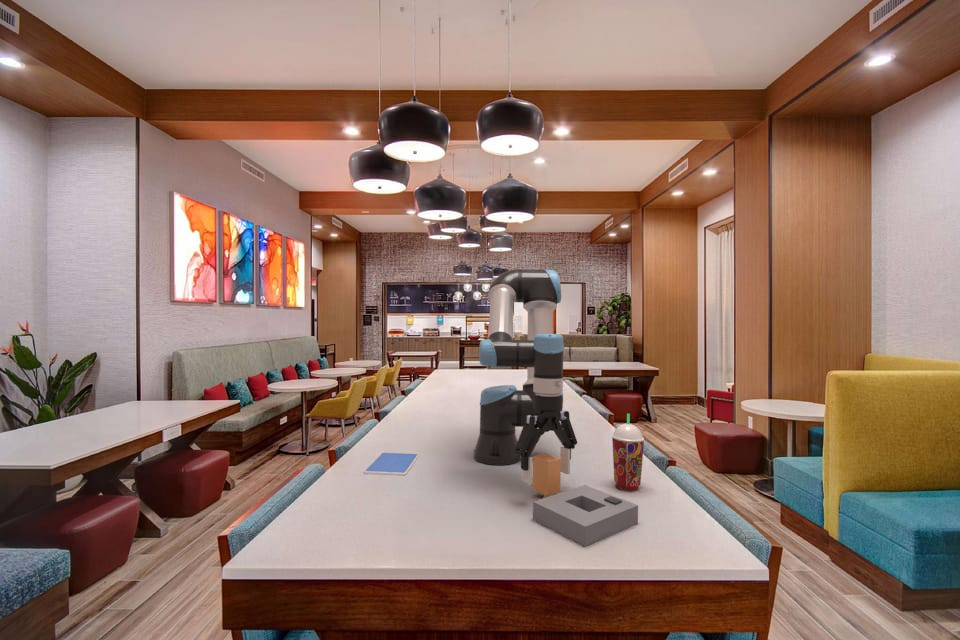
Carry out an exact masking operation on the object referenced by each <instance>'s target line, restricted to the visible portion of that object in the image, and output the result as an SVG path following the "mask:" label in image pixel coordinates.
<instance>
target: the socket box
mask: <svg viewBox="0 0 960 640" xmlns="http://www.w3.org/2000/svg"><path fill="white" fill-rule="evenodd" d="M532 520H533V521H535V522H537V523H539V524H541V525H542V526H545V527H547V528H548V529H550V530H553V531H554V532H556V533H559V534H560V535H562V536H564V537H566V538H568V539H569V540H571V541H573V542H576V543H577V544H579V545H581V546H583V547H584V548H585V547H588V546H590V545H592V544H595V543H596V542H599V541H602V540H603V539H605V538H607V537H610V536H612V535H615V534H617V533H619V532H621V531H623V530H626V529H628V528H630V527H633V526H635V525H637V524H638V523H639V504H636V503H633V502H630V501H628V500H626V499H622V498H620V497H617V496H615V495H612V494H610V493H607V492H605V491H601V490H599V489H596V488H593V487H591V486H588V485H587V484H584V485H581V486H577V487H575V488H572V489H569V490H565V491H562V492H559V493H557V494H555V495H550V496H549V497H546V498H544V497H543V498H540V499H536V500H534V501H533V502H532Z"/></svg>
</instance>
